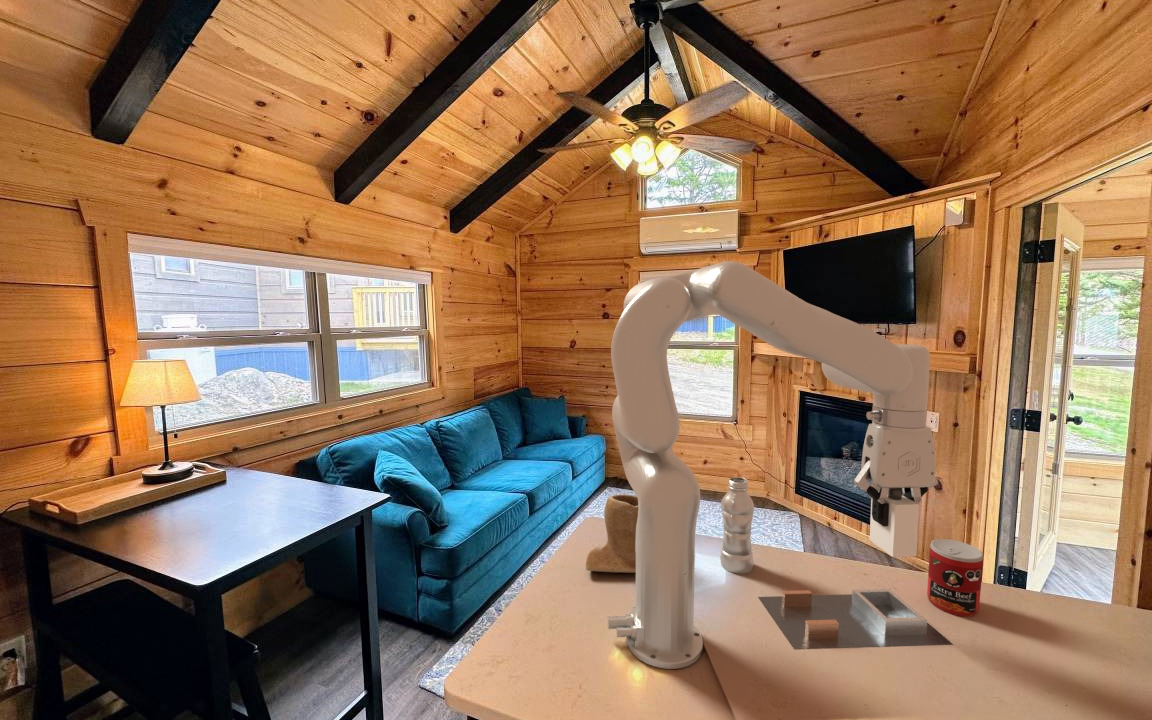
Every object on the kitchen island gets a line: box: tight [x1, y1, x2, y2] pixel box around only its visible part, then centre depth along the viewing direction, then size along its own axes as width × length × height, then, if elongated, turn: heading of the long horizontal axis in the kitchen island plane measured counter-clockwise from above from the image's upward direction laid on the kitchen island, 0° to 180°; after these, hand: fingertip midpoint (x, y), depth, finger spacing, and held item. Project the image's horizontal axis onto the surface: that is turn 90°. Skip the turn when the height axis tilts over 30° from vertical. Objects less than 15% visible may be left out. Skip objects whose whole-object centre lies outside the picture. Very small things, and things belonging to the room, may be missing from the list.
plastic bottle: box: [719, 476, 755, 575], centre depth 99 cm, size 6×7×20 cm
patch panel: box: [757, 588, 954, 650], centre depth 83 cm, size 26×14×4 cm, turn 92°
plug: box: [869, 488, 920, 558], centre depth 81 cm, size 4×6×11 cm, turn 2°
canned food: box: [926, 538, 984, 617], centre depth 88 cm, size 8×8×11 cm
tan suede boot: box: [585, 494, 639, 574], centre depth 103 cm, size 15×12×15 cm
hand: (893, 521), depth 81 cm, fingers closed on plug, 4 cm apart
